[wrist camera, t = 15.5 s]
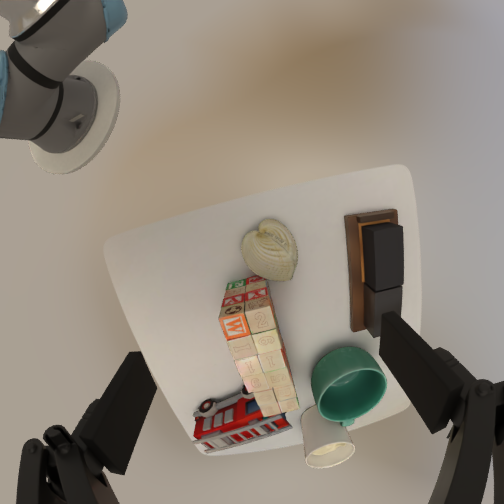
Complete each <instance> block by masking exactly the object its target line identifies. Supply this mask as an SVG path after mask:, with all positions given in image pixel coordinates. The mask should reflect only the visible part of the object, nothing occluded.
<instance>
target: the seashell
mask: <svg viewBox="0 0 504 504" xmlns="http://www.w3.org/2000/svg"><path fill="white" fill-rule="evenodd" d="M258 229H259V232H258V231H250V232H249V233H247V234H246V235H245V237H244V238H243V241H242V247H241V250H242V255H243V258H244V261H245V263H246V264H247V266H248V267H249V268H250V269H251V270H252V271H253V272H254V273H255V274H257V275H258V276H260V277H262V278H265V279H268V280H272V281H286V280H291V279H292V277H293V273H294V270H295V268H296V265H297V261H298V259H297V258H298V256H297V255H298V252H297V251H298V250H297V246H296V243H295V240H294V239H293V236H292V234H291V233H290V232H289V230H288V229H287V228H286V227H285V226H284V225H283V224H282V223H280V222H279V221H277V220H273V219H266V220H263V221H262V222H261V223H260V224H259V227H258Z"/></svg>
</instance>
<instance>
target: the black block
mask: <svg viewBox="0 0 504 504" xmlns="http://www.w3.org/2000/svg"><path fill="white" fill-rule="evenodd" d="M361 230H362V242H363V258H364V281H365V282H366V283H367V284H368V285H369V286H370V287H372V288H373V289H374V290H375V291H379V290H383V289H387V288H391V287H395V286H399V285H403V283H404V245H403V226H400V225H397V224H394V223H391V222H384V223H378V224H371V225H365V226H361Z"/></svg>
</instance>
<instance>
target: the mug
mask: <svg viewBox="0 0 504 504" xmlns="http://www.w3.org/2000/svg"><path fill="white" fill-rule="evenodd" d="M311 387H312V392H313V396H314V399H315V402H316V405H317V408H318V411H319V413H320V414H321V416H322V417H324V418H325V419H327V420H330V421H336V422H339V423H340V425H341V426H343V427H346V426H350V425H352V424H353V423H354V419H355V418H358V417H360V416H362V415H364V414H366V413H367V412H369V411H370V410H371V409H373V408H374V407H375V406H376V405H377V404H378V403H379V402H380V400H381V399H382V397H383V396H384V394H385V392H386V388H387V379H386V377H385V375H384V373H383V371H382V370H381V368H380V367H379V365H378V364H377V362H376V361H375V360H374V358H373V357H372V356H371V355H370V354H369V353H368V352H366V351H365V350H363V349H361V348H357V347H343V348H339V349H336V350H334V351H332V352H330V353H329V354H327V355H326V356H324V357H323V358H322V359H321V360H320V361H319V362H318V364H317V365H316V367H315V368H314V371H313V373H312V377H311Z"/></svg>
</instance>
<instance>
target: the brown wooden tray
mask: <svg viewBox="0 0 504 504" xmlns="http://www.w3.org/2000/svg"><path fill="white" fill-rule="evenodd" d="M344 219H345V228H346V239H347V251H348V265H349V283H350V314H351V330H352V331H353V332H357V331H361V330H365V329H367V330H368V331H369V333H370V334H371V335H372V337H373V338H375V337H379V336H380V334H381V315H382V314H383V313H386V312H390V311H395V312H396V313H397V314H398V315H399V316H400V317H401V307H402V286H401V285H399V286H395V287H391V288H387V289H383V290H379V291H375V290H374V289H373V288H372V287H370V286H369V285H368V284H367V283H366V282H365V281H364V258H363V242H362V230H361V226H365V225H371V224H378V223H384V222H391V223H394V224H397V225H398V214H397V210H396V209H388V210H381V211H374V212H367V213H360V214H353V215H346V216H344Z"/></svg>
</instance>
